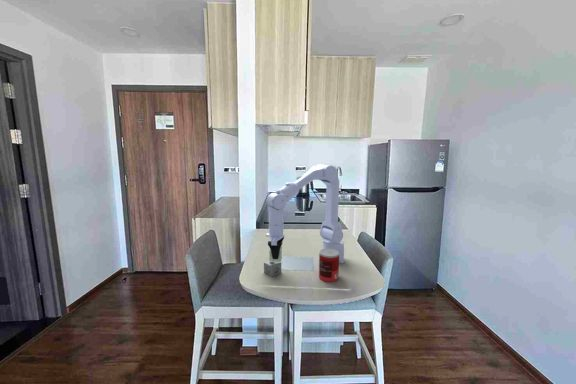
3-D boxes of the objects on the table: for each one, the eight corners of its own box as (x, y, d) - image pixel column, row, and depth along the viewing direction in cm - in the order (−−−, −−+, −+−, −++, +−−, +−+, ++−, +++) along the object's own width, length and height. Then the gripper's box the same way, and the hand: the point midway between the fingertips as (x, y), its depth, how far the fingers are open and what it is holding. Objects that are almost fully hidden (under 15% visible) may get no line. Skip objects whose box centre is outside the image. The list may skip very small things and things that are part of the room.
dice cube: (263, 274, 110) (263, 262, 110) (273, 270, 114) (273, 258, 113) (272, 278, 107) (272, 266, 106) (281, 274, 110) (281, 262, 110)
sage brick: (282, 257, 111) (281, 246, 110) (280, 261, 107) (280, 250, 106) (271, 256, 112) (271, 246, 111) (269, 261, 107) (269, 250, 106)
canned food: (336, 273, 111) (337, 248, 109) (340, 283, 103) (341, 256, 101) (317, 274, 110) (318, 248, 109) (320, 283, 102) (321, 256, 101)
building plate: (312, 258, 126) (312, 257, 126) (313, 272, 112) (313, 270, 112) (282, 257, 127) (282, 256, 127) (279, 270, 113) (279, 269, 113)
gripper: (268, 218, 114) (269, 249, 116) (263, 228, 100) (263, 263, 102) (285, 218, 114) (285, 249, 116) (282, 229, 99) (282, 264, 102)
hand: (276, 256), depth 109 cm, fingers closed on sage brick, 4 cm apart
